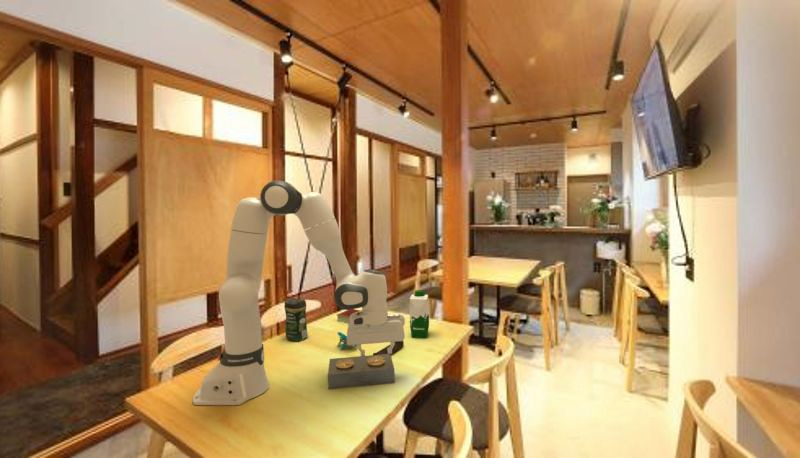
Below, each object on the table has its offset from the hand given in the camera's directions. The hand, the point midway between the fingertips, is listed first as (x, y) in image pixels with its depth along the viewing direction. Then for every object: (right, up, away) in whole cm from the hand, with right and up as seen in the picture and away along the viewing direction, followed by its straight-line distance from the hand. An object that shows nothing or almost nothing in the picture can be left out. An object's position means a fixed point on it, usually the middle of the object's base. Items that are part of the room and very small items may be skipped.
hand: (376, 354), depth 123 cm
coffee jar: (-39, -6, +38) cm, 55 cm away
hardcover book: (-13, -5, +61) cm, 62 cm away
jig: (-5, -8, 0) cm, 9 cm away
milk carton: (+17, -5, +38) cm, 42 cm away
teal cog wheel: (-14, -7, +26) cm, 31 cm away
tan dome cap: (0, -7, 0) cm, 7 cm away
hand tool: (+4, -7, +19) cm, 21 cm away
